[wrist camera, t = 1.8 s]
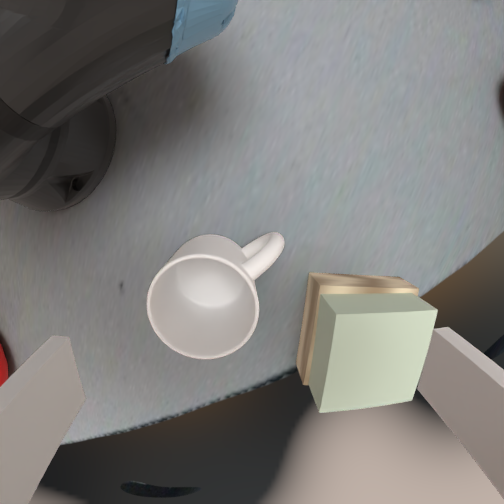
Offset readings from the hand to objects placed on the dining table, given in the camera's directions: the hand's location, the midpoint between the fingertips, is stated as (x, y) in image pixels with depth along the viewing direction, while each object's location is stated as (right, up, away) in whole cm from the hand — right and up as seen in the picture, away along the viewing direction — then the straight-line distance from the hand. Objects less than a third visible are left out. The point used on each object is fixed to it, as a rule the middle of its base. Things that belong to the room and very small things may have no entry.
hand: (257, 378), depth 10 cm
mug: (-3, +3, +23) cm, 23 cm away
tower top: (+11, -5, +20) cm, 23 cm away
